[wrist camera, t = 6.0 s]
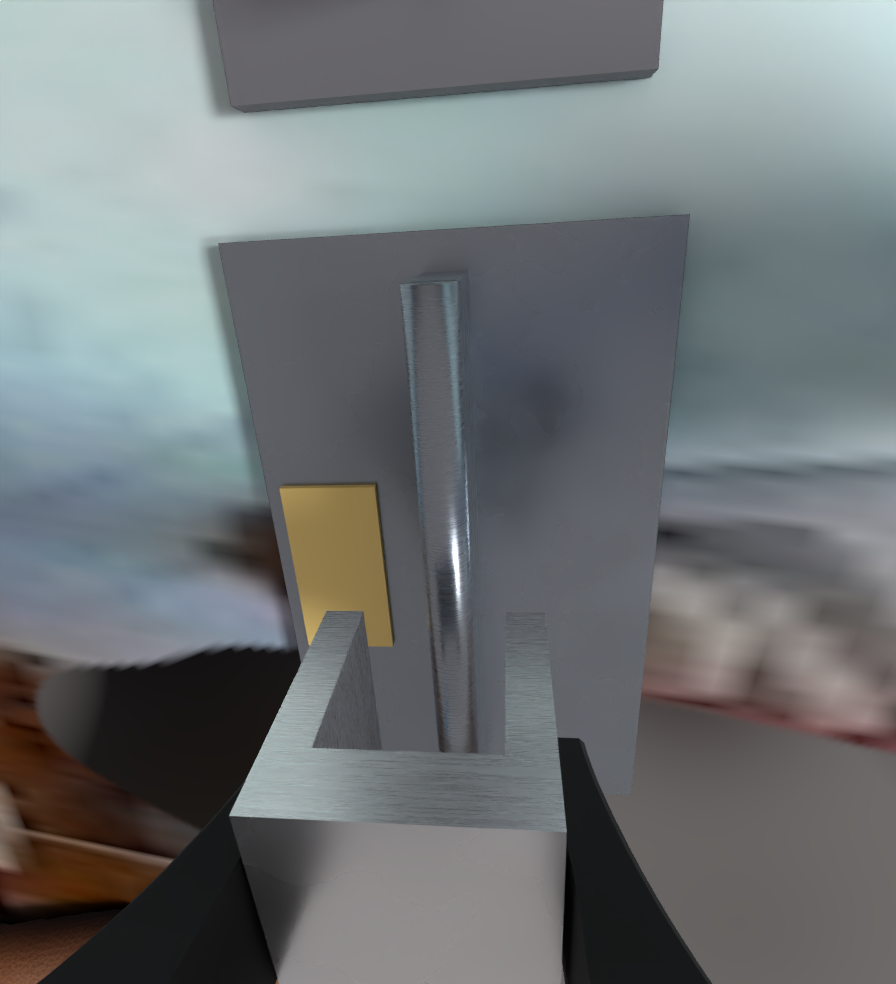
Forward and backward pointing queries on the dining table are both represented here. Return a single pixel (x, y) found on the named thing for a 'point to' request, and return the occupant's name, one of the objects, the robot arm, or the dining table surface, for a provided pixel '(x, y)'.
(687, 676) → the dining table surface
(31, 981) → the sunglasses case
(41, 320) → the dining table surface
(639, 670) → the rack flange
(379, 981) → the slotted grey block
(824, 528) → the dining table surface
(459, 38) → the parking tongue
